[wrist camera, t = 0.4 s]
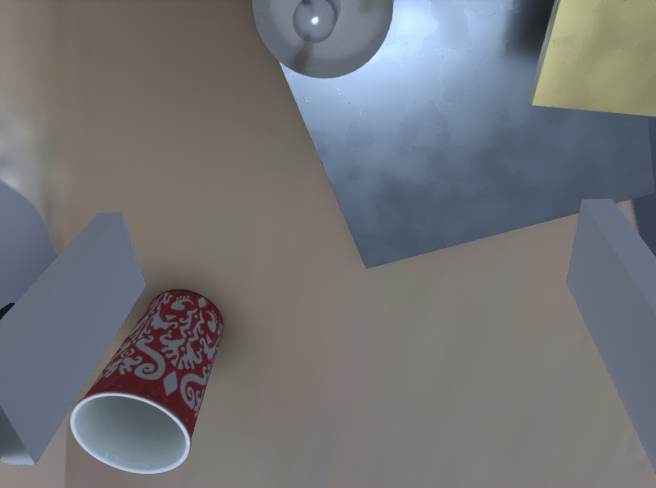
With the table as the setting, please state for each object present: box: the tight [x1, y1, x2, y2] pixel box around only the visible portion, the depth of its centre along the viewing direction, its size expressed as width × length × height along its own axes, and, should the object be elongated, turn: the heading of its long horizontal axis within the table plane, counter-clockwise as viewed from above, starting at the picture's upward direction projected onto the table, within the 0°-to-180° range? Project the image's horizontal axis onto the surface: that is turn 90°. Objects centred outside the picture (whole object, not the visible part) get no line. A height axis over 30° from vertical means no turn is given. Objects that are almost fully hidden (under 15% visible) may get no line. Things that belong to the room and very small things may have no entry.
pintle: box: [292, 0, 341, 43], centre depth 32 cm, size 2×2×5 cm
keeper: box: [528, 0, 656, 116], centre depth 31 cm, size 7×6×8 cm
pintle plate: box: [252, 0, 655, 269], centre depth 36 cm, size 28×22×1 cm
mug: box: [70, 290, 223, 474], centre depth 47 cm, size 13×9×14 cm
